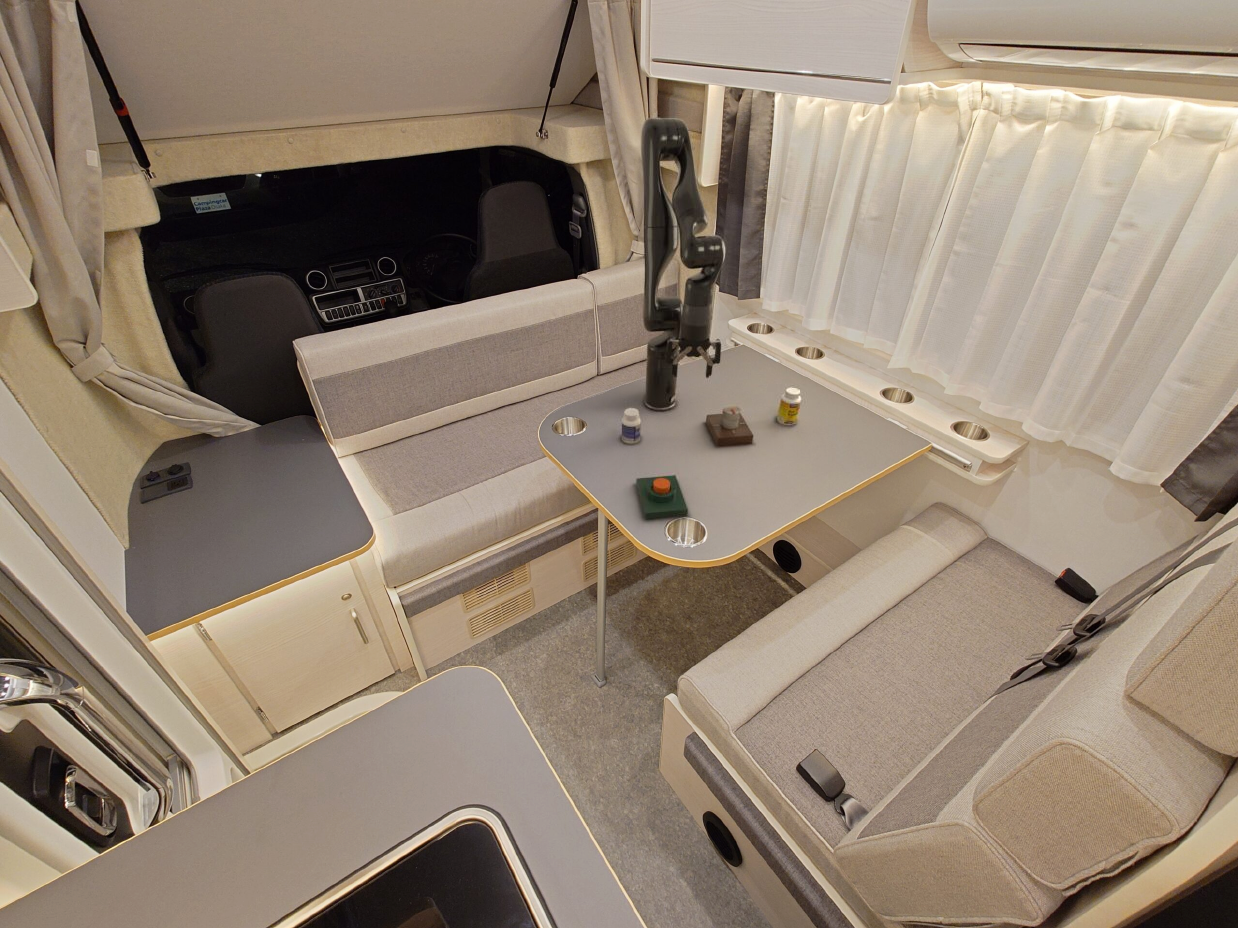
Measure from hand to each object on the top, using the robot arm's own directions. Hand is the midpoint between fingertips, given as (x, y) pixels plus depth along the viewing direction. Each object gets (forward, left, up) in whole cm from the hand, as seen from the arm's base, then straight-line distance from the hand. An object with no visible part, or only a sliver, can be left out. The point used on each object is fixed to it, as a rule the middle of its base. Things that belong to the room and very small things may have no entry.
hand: (691, 376), depth 151 cm
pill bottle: (+3, -17, -17) cm, 24 cm away
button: (+30, -14, -13) cm, 36 cm away
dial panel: (+4, +11, -17) cm, 21 cm away
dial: (+4, +11, -14) cm, 18 cm away
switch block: (+30, -14, -17) cm, 37 cm away
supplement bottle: (0, +30, -17) cm, 35 cm away
